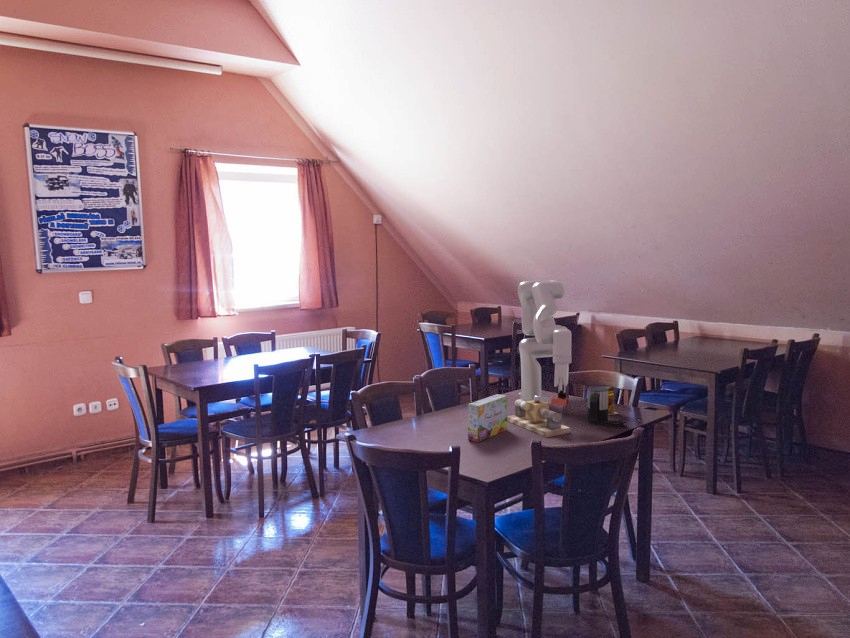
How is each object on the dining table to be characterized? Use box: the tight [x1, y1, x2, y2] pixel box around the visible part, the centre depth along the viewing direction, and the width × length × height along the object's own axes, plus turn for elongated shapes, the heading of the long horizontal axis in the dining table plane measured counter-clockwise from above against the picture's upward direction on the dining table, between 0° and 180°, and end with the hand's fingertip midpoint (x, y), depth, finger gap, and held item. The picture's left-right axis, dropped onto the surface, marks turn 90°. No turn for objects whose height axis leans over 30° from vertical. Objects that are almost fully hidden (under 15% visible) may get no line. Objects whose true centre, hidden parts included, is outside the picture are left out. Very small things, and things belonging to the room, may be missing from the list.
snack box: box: [467, 393, 508, 443], centre depth 260 cm, size 21×6×15 cm, turn 140°
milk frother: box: [586, 385, 627, 426], centre depth 271 cm, size 14×16×15 cm
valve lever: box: [534, 395, 569, 407], centre depth 266 cm, size 14×3×3 cm, turn 58°
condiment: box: [602, 385, 618, 416], centre depth 288 cm, size 7×8×12 cm
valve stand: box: [507, 398, 571, 438], centre depth 270 cm, size 28×12×10 cm, turn 27°
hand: (562, 401), depth 267 cm, fingers closed
